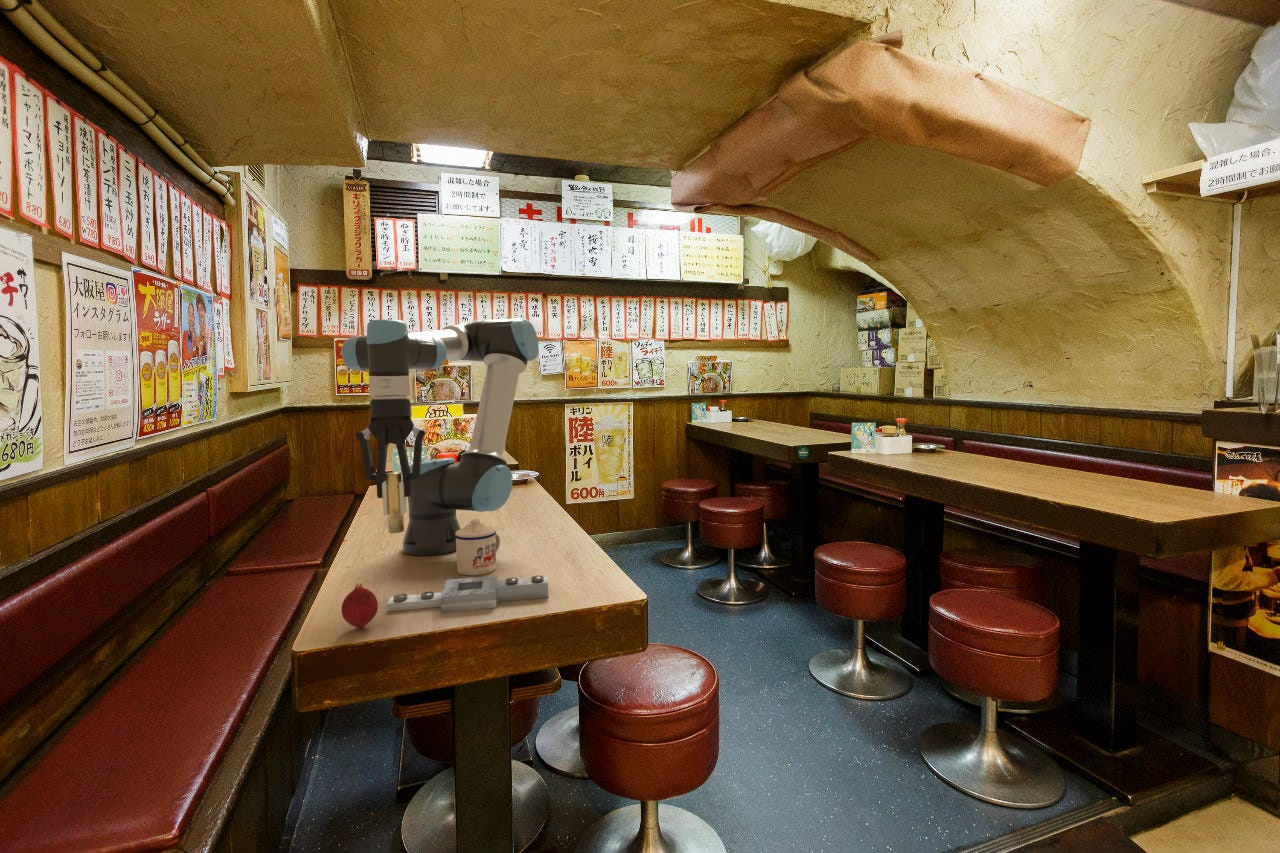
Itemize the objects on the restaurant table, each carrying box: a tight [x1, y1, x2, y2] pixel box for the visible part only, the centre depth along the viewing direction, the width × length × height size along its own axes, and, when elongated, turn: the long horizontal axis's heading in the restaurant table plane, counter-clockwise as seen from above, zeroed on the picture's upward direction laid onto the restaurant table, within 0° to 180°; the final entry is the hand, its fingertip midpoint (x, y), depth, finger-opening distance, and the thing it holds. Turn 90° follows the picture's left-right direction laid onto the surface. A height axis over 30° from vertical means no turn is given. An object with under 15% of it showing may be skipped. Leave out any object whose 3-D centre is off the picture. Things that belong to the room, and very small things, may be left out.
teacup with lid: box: [455, 518, 501, 577], centre depth 137 cm, size 12×9×12 cm
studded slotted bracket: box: [386, 575, 549, 613], centre depth 117 cm, size 10×30×4 cm, turn 102°
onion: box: [341, 582, 379, 629], centre depth 104 cm, size 6×6×8 cm
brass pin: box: [385, 471, 405, 534], centre depth 121 cm, size 3×3×12 cm
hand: (395, 512), depth 121 cm, fingers closed on brass pin, 2 cm apart
